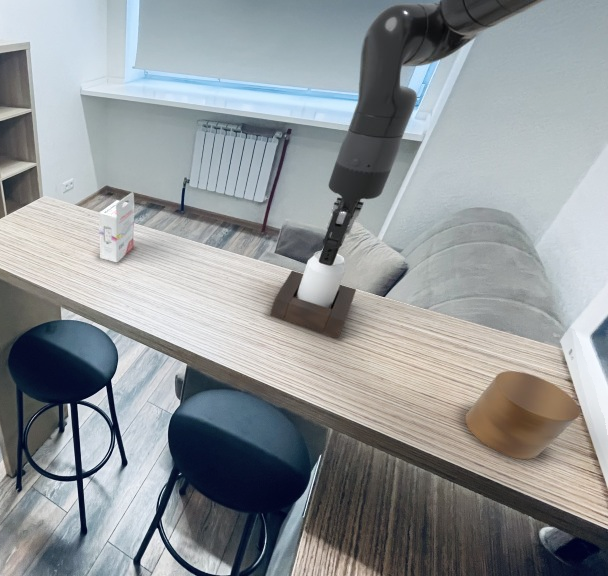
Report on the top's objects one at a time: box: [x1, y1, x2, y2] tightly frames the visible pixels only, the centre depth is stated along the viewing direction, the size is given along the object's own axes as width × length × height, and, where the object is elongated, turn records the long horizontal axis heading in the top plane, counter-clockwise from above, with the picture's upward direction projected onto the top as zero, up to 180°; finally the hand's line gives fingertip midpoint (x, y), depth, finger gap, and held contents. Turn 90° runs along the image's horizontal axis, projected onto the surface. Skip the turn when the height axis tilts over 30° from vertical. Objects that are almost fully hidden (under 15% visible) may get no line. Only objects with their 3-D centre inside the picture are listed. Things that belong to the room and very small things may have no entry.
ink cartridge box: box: [98, 191, 135, 263], centre depth 94 cm, size 9×5×15 cm, turn 149°
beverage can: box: [296, 250, 347, 309], centre depth 76 cm, size 6×6×12 cm
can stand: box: [269, 270, 357, 339], centre depth 78 cm, size 12×12×4 cm
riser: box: [464, 370, 581, 460], centre depth 54 cm, size 8×8×8 cm
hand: (330, 253), depth 72 cm, fingers open, 8 cm apart
